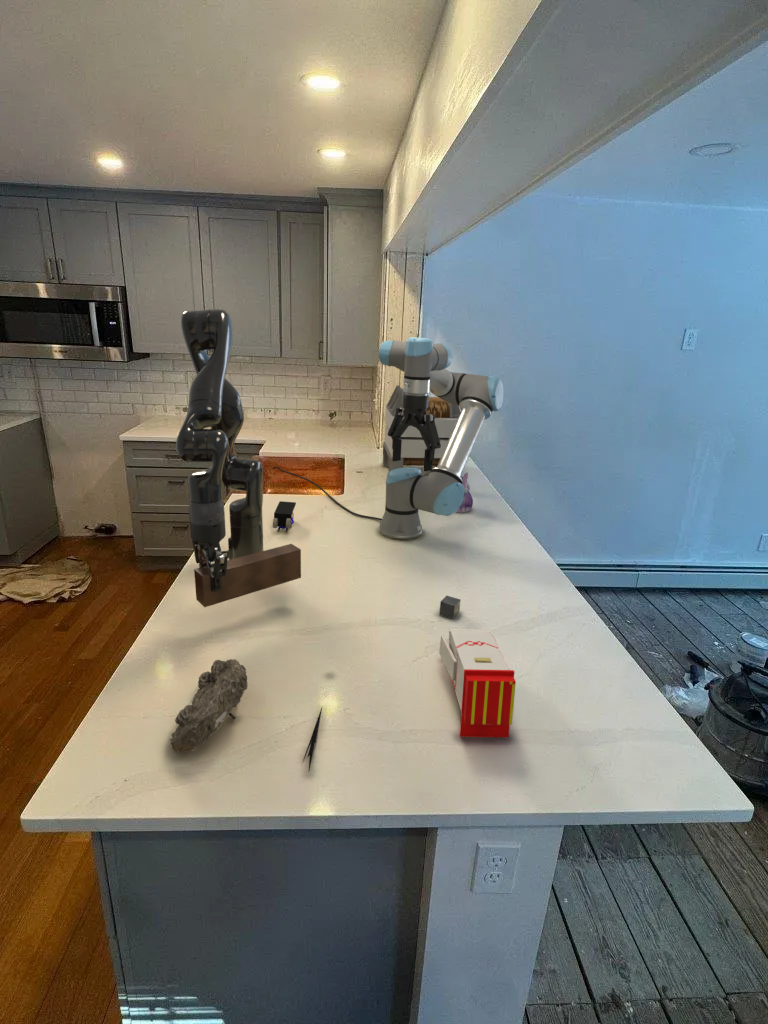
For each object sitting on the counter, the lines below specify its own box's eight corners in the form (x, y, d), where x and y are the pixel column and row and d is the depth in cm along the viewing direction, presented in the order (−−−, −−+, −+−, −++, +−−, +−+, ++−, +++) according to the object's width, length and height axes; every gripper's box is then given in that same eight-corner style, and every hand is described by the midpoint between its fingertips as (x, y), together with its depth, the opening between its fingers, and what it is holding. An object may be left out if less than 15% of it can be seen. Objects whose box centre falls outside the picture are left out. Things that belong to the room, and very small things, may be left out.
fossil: (195, 660, 117) (247, 628, 112) (227, 691, 120) (279, 661, 115) (146, 746, 98) (206, 711, 93) (185, 779, 101) (245, 748, 96)
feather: (331, 679, 122) (336, 673, 122) (307, 777, 96) (313, 769, 95) (324, 675, 122) (329, 669, 121) (298, 772, 95) (304, 764, 95)
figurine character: (291, 538, 195) (297, 518, 208) (291, 518, 192) (296, 500, 205) (272, 537, 195) (278, 518, 208) (271, 518, 191) (277, 499, 205)
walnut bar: (204, 607, 130) (202, 575, 127) (196, 599, 133) (193, 568, 130) (301, 577, 146) (300, 549, 143) (291, 571, 149) (291, 543, 146)
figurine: (459, 514, 221) (463, 477, 216) (445, 506, 229) (448, 470, 224) (479, 511, 225) (483, 475, 220) (464, 503, 234) (467, 468, 228)
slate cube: (439, 615, 148) (440, 601, 147) (445, 608, 151) (446, 595, 150) (453, 619, 146) (454, 605, 145) (459, 612, 149) (460, 599, 148)
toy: (489, 613, 130) (525, 677, 101) (485, 667, 133) (518, 744, 104) (437, 612, 130) (457, 676, 101) (434, 666, 133) (453, 743, 103)
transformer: (381, 463, 289) (385, 382, 275) (444, 464, 292) (450, 384, 279) (389, 482, 257) (393, 392, 243) (459, 483, 261) (467, 394, 247)
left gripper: (178, 511, 129) (183, 579, 135) (204, 531, 119) (209, 603, 124) (209, 506, 134) (213, 571, 139) (237, 524, 123) (240, 594, 129)
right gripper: (378, 389, 169) (375, 458, 176) (438, 401, 151) (432, 477, 158) (396, 387, 173) (393, 455, 181) (457, 399, 156) (450, 473, 163)
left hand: (211, 586), depth 132 cm, fingers closed on walnut bar, 4 cm apart
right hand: (411, 465), depth 170 cm, fingers open, 13 cm apart
